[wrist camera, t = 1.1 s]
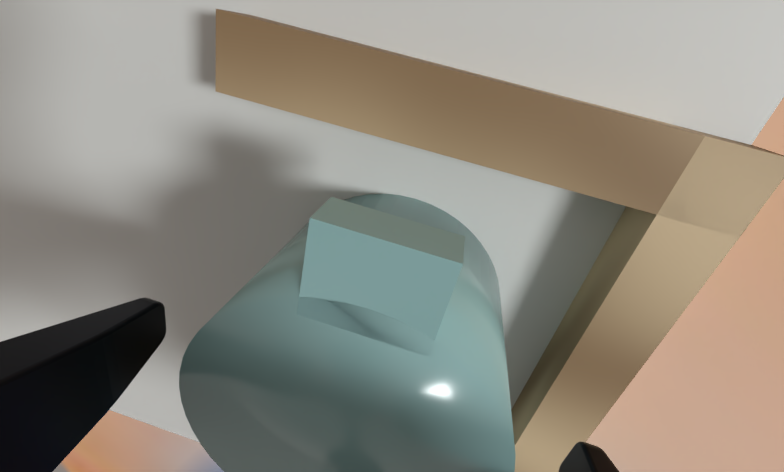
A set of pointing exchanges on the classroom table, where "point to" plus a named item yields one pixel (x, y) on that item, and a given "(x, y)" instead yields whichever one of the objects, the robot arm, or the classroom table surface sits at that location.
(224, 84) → the cradle
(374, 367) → the teal dome with tabs
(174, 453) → the classroom table surface
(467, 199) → the board
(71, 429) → the robot arm
